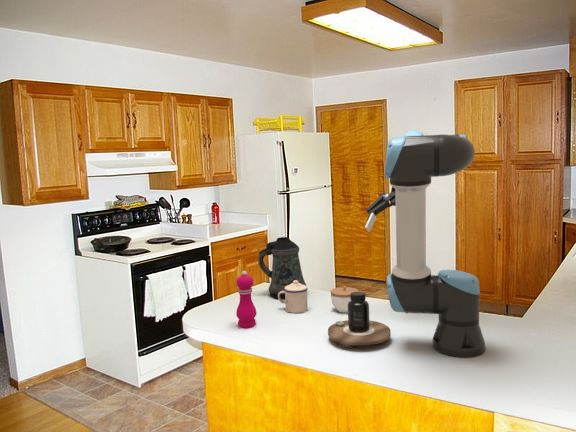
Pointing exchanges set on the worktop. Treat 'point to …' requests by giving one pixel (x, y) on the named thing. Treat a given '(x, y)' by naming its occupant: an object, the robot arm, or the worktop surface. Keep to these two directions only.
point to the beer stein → (282, 265)
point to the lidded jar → (342, 298)
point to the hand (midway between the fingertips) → (383, 230)
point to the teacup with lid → (295, 297)
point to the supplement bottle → (358, 313)
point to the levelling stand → (358, 334)
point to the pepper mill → (245, 302)
